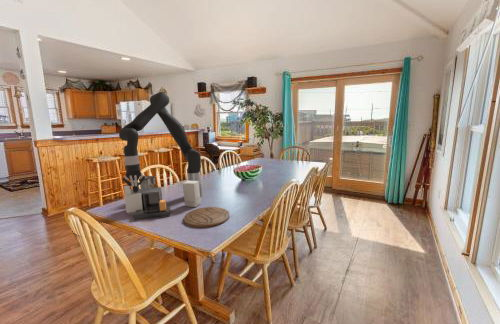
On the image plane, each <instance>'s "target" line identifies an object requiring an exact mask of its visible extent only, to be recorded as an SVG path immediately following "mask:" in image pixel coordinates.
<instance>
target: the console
mask: <svg viewBox="0 0 500 324" xmlns="http://www.w3.org/2000/svg"><path fill="white" fill-rule="evenodd" d="M170 215H171V206H166V210H163V211H160V208H152V209H143V210H136V212H135V213H134V215H132V216H133V221H141V220H149V219H151V220H152V219H160V218H169V217H170Z"/></svg>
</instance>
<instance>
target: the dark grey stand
mask: <svg viewBox="0 0 500 324" xmlns="http://www.w3.org/2000/svg"><path fill="white" fill-rule="evenodd" d="M138 189H139V190H138V192H136V193H134V192H133V189H131V194H139V193H141V196H142V205H143V209H152V208H160V205H159V202H160V200H163V196H162V195H163V194H162V187H161V186H156V188H144V189H141V188H138ZM134 213H135V212H131V213H127V214H128V216H131V215H132V216H133V215H134Z"/></svg>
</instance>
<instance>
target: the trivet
mask: <svg viewBox="0 0 500 324" xmlns="http://www.w3.org/2000/svg"><path fill="white" fill-rule="evenodd" d="M229 218H230V211H229V210H227V209H226V208H222V207H218V206H207V207H206V206H205V207H199V208H196V209H192V210H191V211H189V212H188V213H186V214H185V215H184V217H183V222H184V224H186V226H189V227H192V228H199V229H200V228H201V229H202V228H203V229H204V228H212V227H218V226H220V225H222V224H224V223H226V222H227V221H229Z"/></svg>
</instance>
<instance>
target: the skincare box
mask: <svg viewBox="0 0 500 324" xmlns="http://www.w3.org/2000/svg"><path fill="white" fill-rule="evenodd" d="M182 191H183V192H182V193H183V197H184V198H183V201H184V206H185V207H192V208H196V207H198V206H199V205H201V204H202V203H201V196H200V191H199V182H198V181H188V180H186V181H184V182H182Z"/></svg>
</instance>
